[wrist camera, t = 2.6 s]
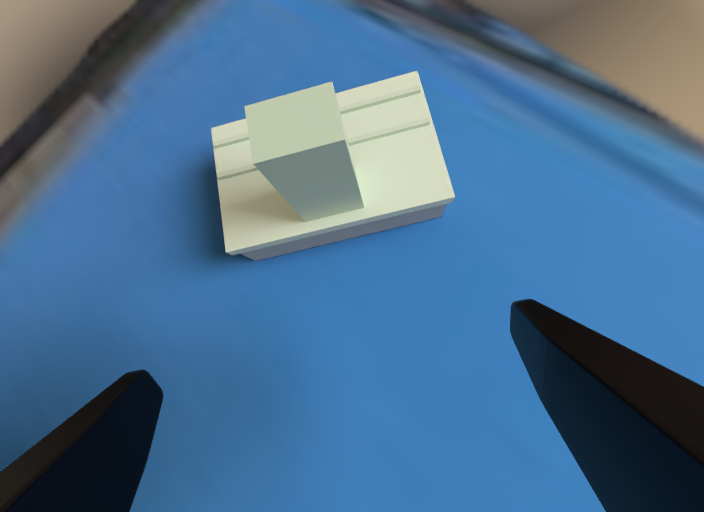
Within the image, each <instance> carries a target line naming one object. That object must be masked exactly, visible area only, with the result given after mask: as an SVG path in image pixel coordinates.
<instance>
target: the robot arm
mask: <svg viewBox="0 0 704 512" xmlns="http://www.w3.org/2000/svg"><path fill="white" fill-rule="evenodd" d="M510 332H511V336H512V338H513V341H514V343H515V345H516V347H517V350H518V352H519V354H520V356H521V358H522V361H523V363H524V365H525V367H526V369H527V372H528V374H529V376H530V378H531V381H532V383H533V385H534V387H535V389H536V391H537V394H538V396H539V398H540V400H541V402H542V403H543V405H544V407H545V409H546V411H547V412H548V414H549V416H550V417H551V419H552V421H553V422H554V424H555V426H556V428H557V429H558V431H559V433H560V434H561V436H562V438H563V439H564V441H565V443H566V445H567V446H568V448H569V450H570V451H571V453H572V455H573V456H574V458H575V460H576V462H577V463H578V465H579V467H580V468H581V470H582V472H583V473H584V475H585V477H586V479H587V480H588V482H589V484H590V485H591V487H592V489H593V490H594V492H595V494H596V496H597V497H598V499H599V501H600V502H601V504H602V506H603V507H604V509H605V511H606V512H704V387H703V386H701V385H699V384H697V383H696V382H694V381H692V380H690V379H688V378H686V377H684V376H682V375H680V374H678V373H676V372H674V371H672V370H670V369H668V368H666V367H664V366H662V365H660V364H658V363H656V362H654V361H652V360H651V359H649V358H647V357H645V356H643V355H641V354H639V353H637V352H635V351H633V350H631V349H629V348H627V347H625V346H623V345H621V344H619V343H617V342H615V341H613V340H611V339H609V338H607V337H606V336H604V335H602V334H600V333H598V332H596V331H594V330H592V329H590V328H588V327H586V326H584V325H582V324H580V323H578V322H576V321H574V320H572V319H570V318H568V317H566V316H564V315H562V314H561V313H559V312H557V311H555V310H553V309H551V308H549V307H547V306H545V305H543V304H541V303H539V302H537V301H535V300H533V299H525V300H519V301H515V302H513V303H512V305H511V316H510ZM162 401H163V392H162V389H161V388H160V386H159V385H158V384H157V383H156V381H155V380H154V379H153V377H152V376H151V375H150V374H149V373H148V372H147V371H146V370H137V371H131V372H128V373H126V374H124V375H123V376H122V377H120V378H119V379H118V380H117V381H115V382H114V383H113V384H111V385H110V386H109V387H108V388H106V389H105V390H104V391H103V392H101V393H100V394H99V395H98V396H96V397H95V398H94V399H92V400H91V401H90V402H89V403H87V404H86V405H85V406H84V407H82V408H81V409H80V410H79V411H77V412H76V413H75V414H73V415H72V416H71V417H70V418H68V419H67V420H66V421H65V422H63V423H62V424H61V425H60V426H58V427H57V428H56V429H55V430H53V431H52V432H51V433H49V434H48V435H47V436H46V437H44V438H43V439H42V440H41V441H39V442H38V443H37V444H36V445H34V446H33V447H32V448H30V449H29V450H28V451H27V452H25V453H24V454H23V455H22V456H20V457H19V458H18V459H17V460H15V461H14V462H13V463H11V464H10V465H9V466H8V467H6V468H5V469H4V470H3V471H1V472H0V512H130V509H131V506H132V503H133V500H134V497H135V495H136V492H137V489H138V486H139V483H140V480H141V478H142V475H143V472H144V469H145V466H146V463H147V459H148V456H149V452H150V448H151V444H152V440H153V436H154V433H155V429H156V425H157V421H158V417H159V413H160V409H161V405H162Z"/></svg>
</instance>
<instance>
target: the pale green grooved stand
mask: <svg viewBox="0 0 704 512" xmlns="http://www.w3.org/2000/svg"><path fill="white" fill-rule="evenodd" d="M245 113H246V119H243V120H239V121H235V122H232V123H228V124H225V125H221V126H218V127H214V128H211V131H212V139H213V148H214V156H215V165H216V173H217V182H218V190H219V199H220V207H221V216H222V224H223V233H224V241H225V250H226V253H228V254H231V255H236V254H240V253H244V252H248V251H253V250H257V249H261V248H265V247H269V246H273V245H277V244H282V243H286V242H290V241H294V240H298V239H302V238H306V237H311V236H315V235H319V234H323V233H327V232H331V231H335V230H340V229H344V228H348V227H352V226H356V225H360V224H365V223H369V222H373V221H377V220H381V219H385V218H389V217H394V216H398V215H402V214H406V213H410V212H414V211H418V210H423V209H427V208H431V207H435V206H439V205H443V204H448V203H452V202H453V200H454V198H455V195H454V192H453V188H452V185H451V182H450V178H449V175H448V172H447V168H446V165H445V162H444V158H443V155H442V152H441V148H440V145H439V142H438V138H437V135H436V132H435V128H434V125H433V122H432V118H431V115H430V112H429V108H428V105H427V102H426V98H425V95H424V92H423V88H422V85H421V82H420V78H419V75H418V72H417V71H415V72H411V73H407V74H404V75H400V76H397V77H393V78H390V79H386V80H382V81H379V82H375V83H372V84H368V85H364V86H361V87H357V88H354V89H350V90H347V91H343V92H339V93H336V94H335V90H334V87H333V83H332V82H329V83H325V84H322V85H318V86H315V87H311V88H308V89H304V90H301V91H297V92H294V93H290V94H287V95H283V96H279V97H276V98H272V99H269V100H265V101H262V102H258V103H255V104H251V105H248V106H245Z"/></svg>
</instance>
